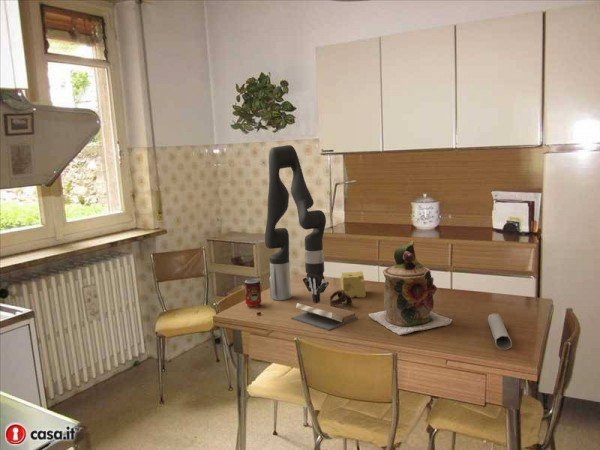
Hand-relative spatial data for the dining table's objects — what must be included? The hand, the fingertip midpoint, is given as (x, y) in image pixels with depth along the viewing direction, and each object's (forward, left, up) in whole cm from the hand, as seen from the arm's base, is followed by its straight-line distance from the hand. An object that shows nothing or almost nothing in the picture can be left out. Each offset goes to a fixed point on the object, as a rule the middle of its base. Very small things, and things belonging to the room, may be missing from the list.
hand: (316, 302), depth 201 cm
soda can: (-37, -3, -8) cm, 38 cm away
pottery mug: (-5, +21, -8) cm, 23 cm away
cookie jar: (+28, +23, -8) cm, 37 cm away
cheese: (-12, +37, -8) cm, 40 cm away
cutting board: (0, +4, -8) cm, 9 cm away
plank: (0, +1, -5) cm, 5 cm away
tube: (+61, +31, -9) cm, 69 cm away
